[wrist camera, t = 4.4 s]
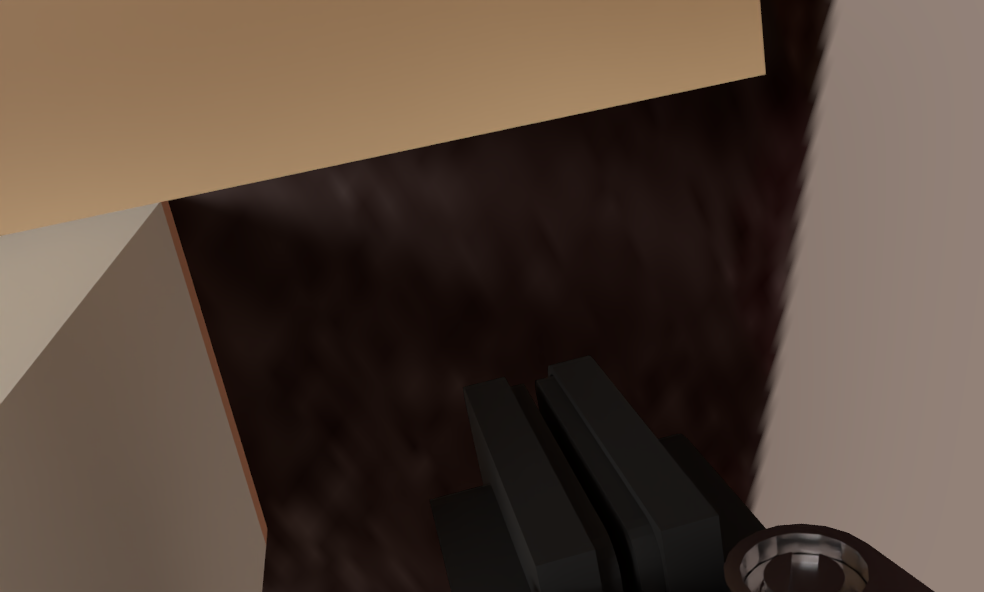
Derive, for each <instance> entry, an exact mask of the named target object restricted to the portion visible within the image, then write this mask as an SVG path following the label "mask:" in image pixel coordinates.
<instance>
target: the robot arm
mask: <svg viewBox="0 0 984 592" xmlns="http://www.w3.org/2000/svg"><path fill="white" fill-rule="evenodd" d="M535 388H536V395H537V400H538V405H539V410H538V408H537V406H536V405H535V403H534V401H533V399H532V397H531V396H530V394H529V392H528V390H527V389H526V387H525V385H524V384H520V385H516V386H512V387H510V386H509V384H508V382H507V380H506V378H505V377H502V378H498V379H494V380H490V381H486V382H482V383H478V384H474V385H470V386H466V387H463V392H464V398H465V403H466V408H467V412H468V417H469V421H470V426H471V431H472V435H473V440H474V444H475V449H476V454H477V458H478V463H479V467H480V472H481V477H482V481H483V486H479V487H476V488H472V489H468V490H464V491H461V492H457V493H453V494H449V495H446V496H442V497H438V498H434V499H430V504H431V508H432V512H433V517H434V521H435V525H436V529H437V533H438V538H439V542H440V546H441V550H442V554H443V559H444V563H445V567H446V571H447V575H448V579H449V584H450V588H451V592H934V591H933V590H931V589H930V588H929V587H927V586H926V585H924V584H923V583H922V582H920V581H919V580H917V579H916V578H915V577H913V576H912V575H910V574H909V573H908V572H906V571H905V570H904V569H902V568H901V567H899V566H898V565H897V564H895V563H894V562H892V561H891V560H890V559H888V558H887V557H885V556H884V555H882V554H881V553H880V552H879V551H877V550H876V549H874V548H873V547H872V546H870V545H869V544H867V543H866V542H864V541H862V540H860V539H858V538H856V537H855V536H853V535H851V534H849V533H847V532H844V531H840V530H837V529H833V528H830V527H826V526H818V525H808V524H793V525H780V526H775V527H772V528H768V529H766V528H765V527H764V526H763V525H762V524H761V523H760V521H759V520H758V519H757V518H756V517H755V516H754V514H753V513H752V512H751V511H750V510H749V509H748V508H747V506H746V505H745V504H744V503H743V502H742V501H741V500H740V498H739V497H738V496H737V495H736V494H735V493H734V492H733V490H732V489H731V488H730V487H729V486H728V485H727V483H726V482H725V481H724V480H723V479H722V478H721V477H720V475H719V474H718V473H717V472H716V471H715V470H714V469H713V467H712V466H711V465H710V464H709V463H708V462H707V461H706V459H705V458H704V457H703V456H702V455H701V454H700V453H699V451H698V450H697V449H696V448H695V447H694V446H693V445H692V443H691V442H690V441H689V440H688V439H687V438H686V437H685V436H684V435H682V434H675V435H671V436H668V437H664V438H660V439H657V438H656V436H655V435H654V434H653V433H652V431H651V430H650V429H649V428H648V426H647V425H646V424H645V423H644V421H643V420H642V419H641V418H640V416H639V415H638V414H637V413H636V411H635V410H634V409H633V408H632V407H631V405H630V404H629V403H628V402H627V400H626V399H625V398H624V397H623V395H622V394H621V393H620V392H619V390H618V389H617V388H616V387H615V385H614V384H613V383H612V382H611V380H610V379H609V378H608V377H607V375H606V374H605V373H604V372H603V370H602V369H601V368H600V367H599V365H598V364H597V363H596V362H595V360H594V359H593V358H592V357H591V356H590V355H589V356H585V357H581V358H577V359H573V360H569V361H565V362H561V363H557V364H553V365H550V366H548V377H547V378H543V379H539V380H536V381H535ZM539 411H540V412H539Z"/></svg>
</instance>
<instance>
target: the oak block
mask: <svg viewBox="0 0 984 592" xmlns="http://www.w3.org/2000/svg"><path fill="white" fill-rule="evenodd" d="M765 74H766V71H765V58H764V45H763V33H762V20H761V7H760V0H0V236H3V235H8V234H12V233H17V232H22V231H26V230H31V229H36V228H41V227H45V226H50V225H55V224H60V223H64V222H69V221H74V220H79V219H83V218H88V217H93V216H97V215H102V214H107V213H112V212H116V211H121V210H126V209H131V208H135V207H140V206H145V205H150V204H154V203H159V202H164V201H168V200H173V199H178V198H183V197H187V196H192V195H197V194H202V193H206V192H211V191H216V190H221V189H225V188H230V187H235V186H239V185H244V184H249V183H254V182H258V181H263V180H268V179H273V178H277V177H282V176H287V175H292V174H296V173H301V172H306V171H310V170H315V169H320V168H325V167H329V166H334V165H339V164H344V163H348V162H353V161H358V160H363V159H367V158H372V157H377V156H381V155H386V154H391V153H396V152H400V151H405V150H410V149H415V148H419V147H424V146H429V145H434V144H438V143H443V142H448V141H452V140H457V139H462V138H467V137H471V136H476V135H481V134H486V133H490V132H495V131H500V130H504V129H509V128H514V127H519V126H523V125H528V124H533V123H538V122H542V121H547V120H552V119H557V118H561V117H566V116H571V115H575V114H580V113H585V112H590V111H594V110H599V109H604V108H609V107H613V106H618V105H623V104H628V103H632V102H637V101H642V100H646V99H651V98H656V97H661V96H665V95H670V94H675V93H680V92H684V91H689V90H694V89H699V88H703V87H708V86H713V85H717V84H722V83H727V82H732V81H736V80H741V79H746V78H751V77H755V76H760V75H765Z"/></svg>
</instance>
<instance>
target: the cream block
mask: <svg viewBox="0 0 984 592" xmlns="http://www.w3.org/2000/svg"><path fill="white" fill-rule="evenodd" d="M266 541H267V526H266V522H265V519H264V516H263V512H262V509H261V506H260V502H259V499H258V496H257V493H256V489H255V486H254V483H253V479H252V476H251V473H250V469H249V466H248V463H247V460H246V456H245V453H244V450H243V446H242V443H241V440H240V437H239V433H238V430H237V427H236V423H235V420H234V417H233V413H232V410H231V407H230V404H229V400H228V397H227V394H226V390H225V387H224V384H223V380H222V377H221V374H220V371H219V367H218V364H217V361H216V357H215V354H214V351H213V347H212V344H211V341H210V338H209V334H208V331H207V328H206V324H205V321H204V318H203V314H202V311H201V308H200V305H199V301H198V298H197V295H196V291H195V288H194V285H193V281H192V278H191V275H190V272H189V268H188V265H187V262H186V258H185V255H184V252H183V248H182V245H181V242H180V239H179V235H178V232H177V229H176V225H175V222H174V219H173V215H172V212H171V209H170V206H169V202H168V201H164V202H159V203H154V204H150V205H145V206H140V207H135V208H131V209H126V210H121V211H116V212H112V213H107V214H102V215H97V216H93V217H88V218H83V219H79V220H74V221H69V222H64V223H60V224H55V225H50V226H45V227H41V228H36V229H31V230H26V231H22V232H17V233H12V234H8V235H3V236H0V592H262V587H263V576H264V564H265V553H266Z"/></svg>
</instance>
